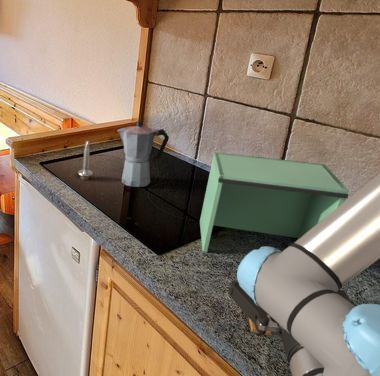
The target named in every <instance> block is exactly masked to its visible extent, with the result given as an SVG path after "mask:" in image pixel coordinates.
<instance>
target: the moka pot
mask: <svg viewBox="0 0 380 376" xmlns="http://www.w3.org/2000/svg"><path fill="white" fill-rule="evenodd" d="M142 124H143V122H142V120H137V121H136V125H134V126H127V127H122V128H120V129H117V131H116V132H117V133H118V135H119V136H120V138H121V141H122V143H123V153H124V154H125V157H124V158H125V160H124V164H123V169H122V175H121V183H122V184H123V185H125V186H128V187H131V188H142V187H147V186H148V185H149V184H151V173H150V172H151V171H150V161H149V160H150V157H151V158H152V159H153V160H158V159H160V158H161V156H162V155H163V152H164V150H165V147H166V145H167V144H168V142H169V140H170V136H169V135H168V133H167V132H166V131H165V129H164V128H161V129H155V128H152V127H147V126H143V125H142ZM159 136H163V141H162V143H161V145H160V148H159V150H158V152H157V154H156V155H152V156H150V155H151V153H152V148H153V143H154V140H155V137H159Z"/></svg>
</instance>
